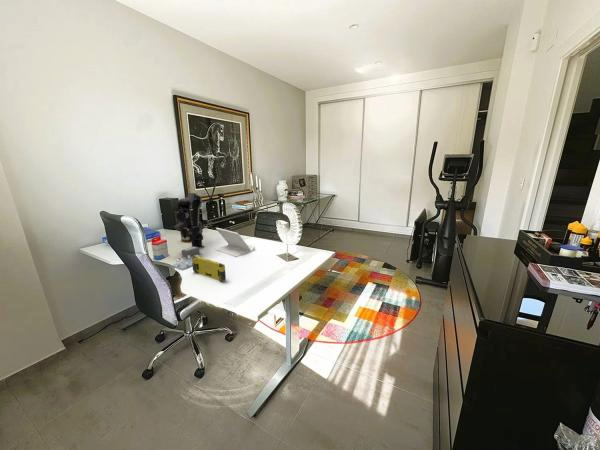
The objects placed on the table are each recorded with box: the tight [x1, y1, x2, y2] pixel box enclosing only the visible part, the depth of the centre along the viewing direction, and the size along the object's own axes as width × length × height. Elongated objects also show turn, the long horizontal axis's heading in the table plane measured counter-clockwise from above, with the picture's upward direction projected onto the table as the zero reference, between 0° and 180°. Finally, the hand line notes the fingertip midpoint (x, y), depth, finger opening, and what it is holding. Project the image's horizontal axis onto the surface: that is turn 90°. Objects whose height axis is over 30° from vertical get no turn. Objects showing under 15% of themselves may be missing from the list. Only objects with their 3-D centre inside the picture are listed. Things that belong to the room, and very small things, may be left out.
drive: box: [181, 246, 201, 259], centre depth 171 cm, size 10×6×5 cm, turn 151°
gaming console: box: [191, 255, 227, 282], centre depth 138 cm, size 26×4×10 cm, turn 60°
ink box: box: [150, 235, 170, 261], centre depth 165 cm, size 8×5×15 cm, turn 168°
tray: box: [171, 254, 199, 271], centre depth 156 cm, size 16×11×4 cm
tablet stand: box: [215, 227, 256, 258], centre depth 180 cm, size 18×25×17 cm
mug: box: [179, 221, 204, 244], centre depth 206 cm, size 20×14×15 cm
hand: (189, 239), depth 169 cm, fingers open, 9 cm apart
